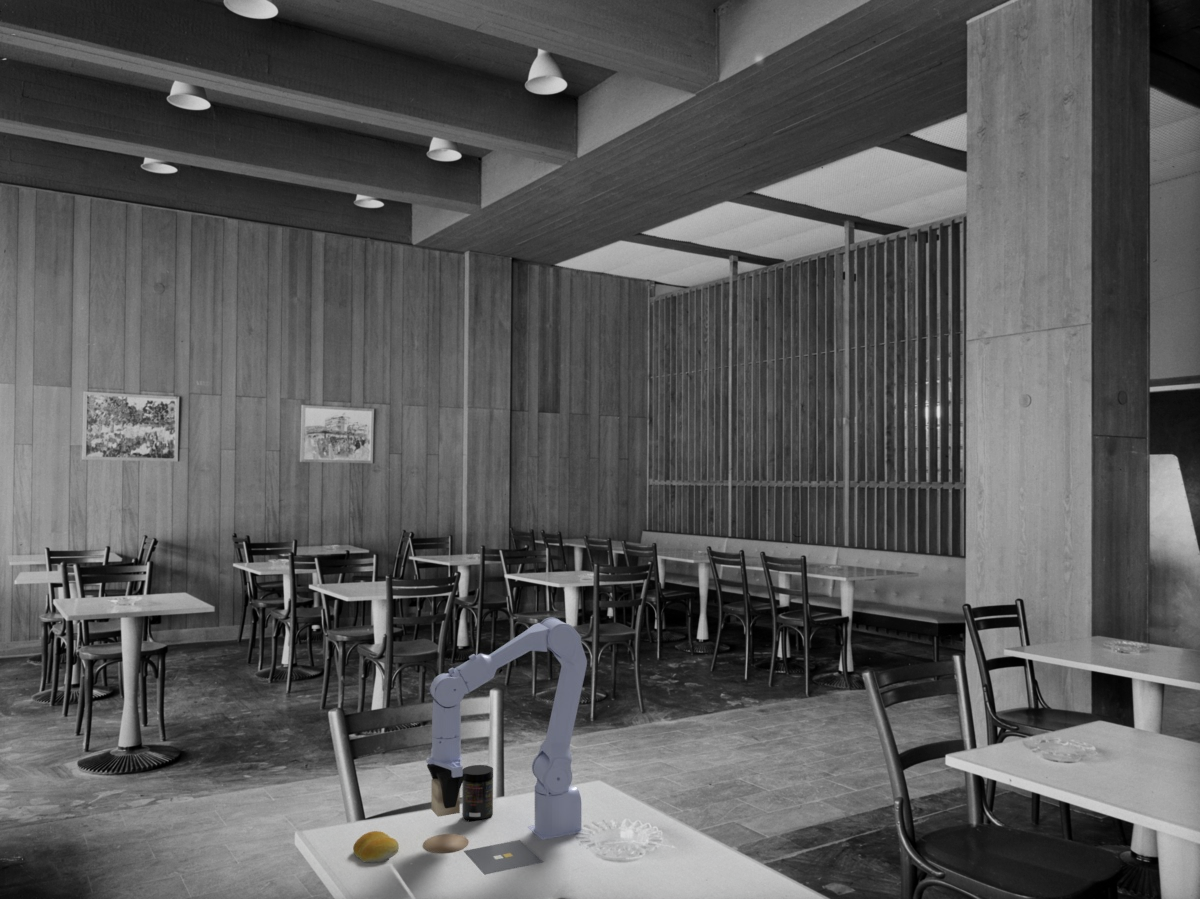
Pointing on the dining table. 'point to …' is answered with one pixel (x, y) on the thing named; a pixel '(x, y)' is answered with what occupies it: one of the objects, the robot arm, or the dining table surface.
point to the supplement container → (477, 793)
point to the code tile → (503, 856)
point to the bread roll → (375, 847)
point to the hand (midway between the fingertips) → (446, 803)
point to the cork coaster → (445, 843)
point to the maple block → (441, 801)
